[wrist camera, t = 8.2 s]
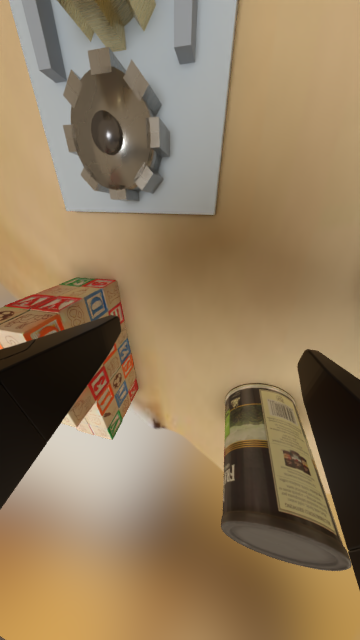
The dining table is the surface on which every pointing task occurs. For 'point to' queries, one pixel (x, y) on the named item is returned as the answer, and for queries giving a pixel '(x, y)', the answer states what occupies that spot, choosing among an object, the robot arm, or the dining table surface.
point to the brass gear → (108, 18)
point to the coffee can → (275, 483)
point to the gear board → (165, 80)
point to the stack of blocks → (68, 311)
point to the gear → (116, 127)
